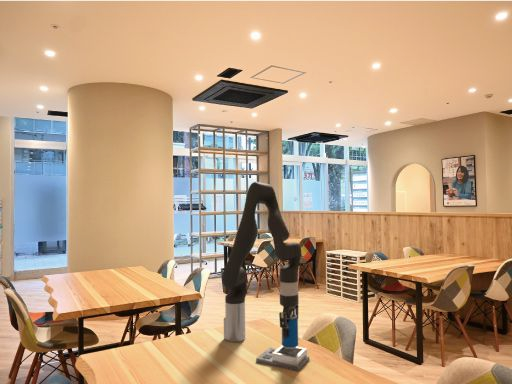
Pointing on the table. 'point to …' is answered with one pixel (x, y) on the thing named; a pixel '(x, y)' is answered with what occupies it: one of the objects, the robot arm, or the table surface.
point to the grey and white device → (285, 358)
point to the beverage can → (291, 334)
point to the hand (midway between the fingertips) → (289, 334)
